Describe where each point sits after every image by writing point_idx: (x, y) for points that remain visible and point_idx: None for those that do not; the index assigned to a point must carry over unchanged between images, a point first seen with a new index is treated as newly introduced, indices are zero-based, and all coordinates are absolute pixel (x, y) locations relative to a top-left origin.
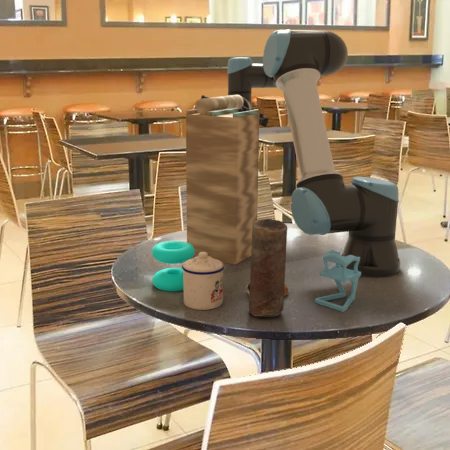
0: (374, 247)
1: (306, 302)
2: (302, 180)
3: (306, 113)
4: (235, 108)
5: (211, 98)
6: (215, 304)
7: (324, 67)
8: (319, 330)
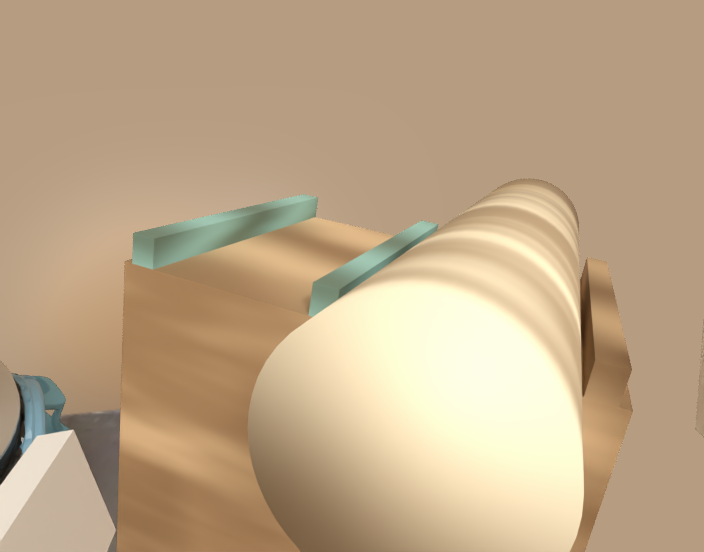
0: None
1: (97, 485)
2: (13, 380)
3: None
4: (336, 287)
5: (509, 186)
6: None
7: None
8: (120, 410)
